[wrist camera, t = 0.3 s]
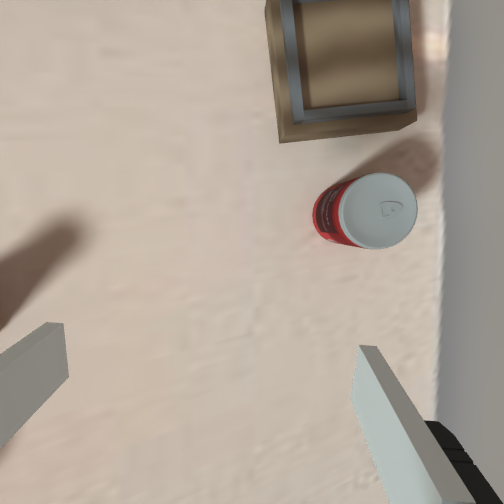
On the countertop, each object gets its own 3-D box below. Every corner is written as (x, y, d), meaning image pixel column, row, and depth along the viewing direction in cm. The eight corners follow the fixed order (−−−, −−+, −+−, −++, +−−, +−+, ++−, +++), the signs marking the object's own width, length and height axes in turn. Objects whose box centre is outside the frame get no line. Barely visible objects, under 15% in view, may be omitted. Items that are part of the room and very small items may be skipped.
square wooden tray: (264, 11, 39) (270, -25, 33) (388, 1, 40) (414, -35, 34) (279, 143, 40) (287, 130, 35) (398, 130, 41) (424, 116, 36)
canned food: (378, 225, 42) (431, 225, 31) (326, 254, 42) (362, 264, 31) (352, 174, 41) (398, 156, 30) (300, 203, 41) (327, 196, 30)
